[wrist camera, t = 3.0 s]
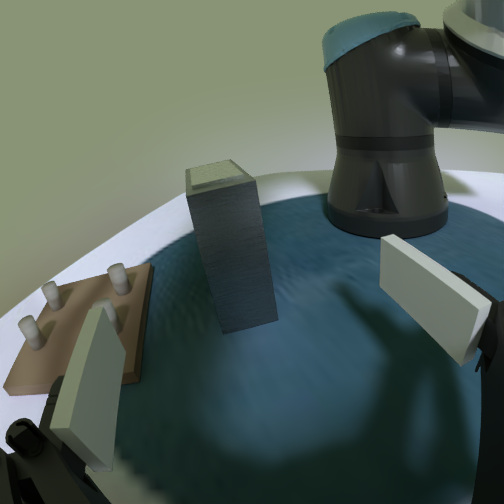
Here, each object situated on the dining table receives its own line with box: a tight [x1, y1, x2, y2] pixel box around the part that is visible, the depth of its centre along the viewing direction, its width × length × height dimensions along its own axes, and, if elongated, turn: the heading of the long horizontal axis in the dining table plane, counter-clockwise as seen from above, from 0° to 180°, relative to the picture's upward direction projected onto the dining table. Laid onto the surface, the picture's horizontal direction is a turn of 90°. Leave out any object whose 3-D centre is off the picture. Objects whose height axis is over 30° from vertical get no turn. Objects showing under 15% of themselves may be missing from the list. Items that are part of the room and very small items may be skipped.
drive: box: [186, 159, 278, 335], centre depth 24 cm, size 4×10×10 cm, turn 12°
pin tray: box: [3, 262, 153, 396], centre depth 24 cm, size 12×16×4 cm
